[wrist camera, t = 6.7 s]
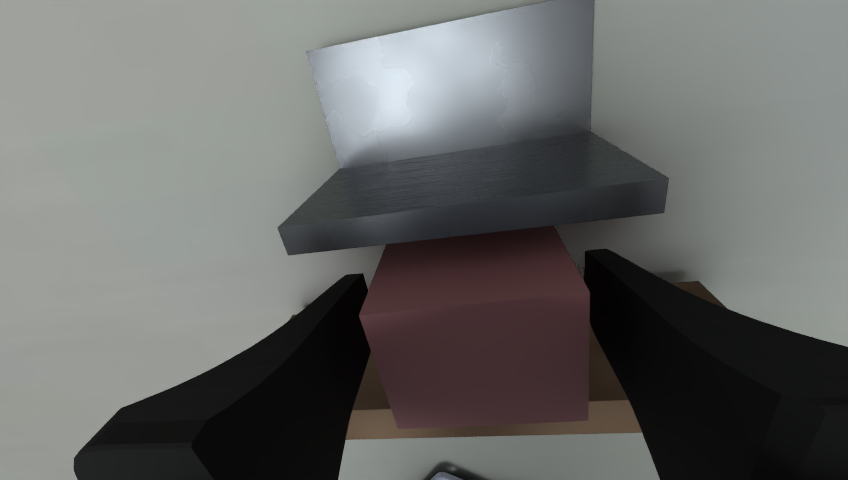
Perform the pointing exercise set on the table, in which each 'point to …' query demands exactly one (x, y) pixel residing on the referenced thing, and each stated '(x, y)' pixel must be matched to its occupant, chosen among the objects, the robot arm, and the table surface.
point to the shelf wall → (604, 416)
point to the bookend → (466, 134)
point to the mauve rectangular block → (480, 330)
